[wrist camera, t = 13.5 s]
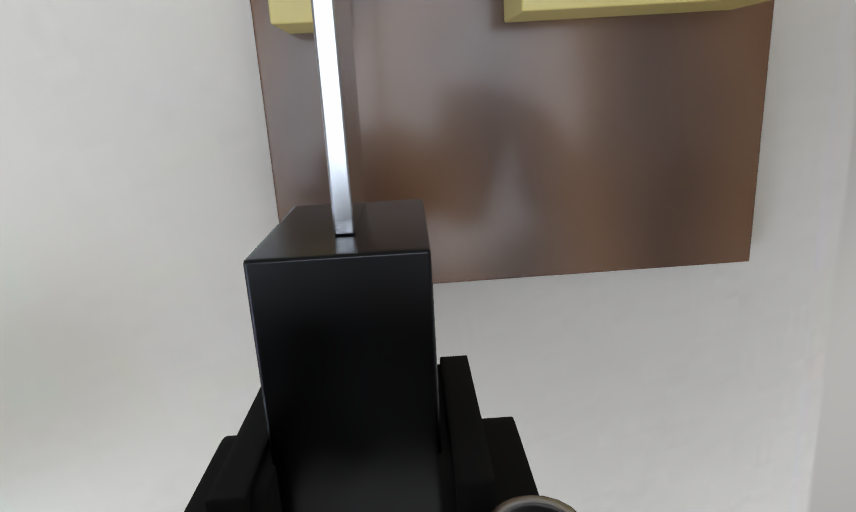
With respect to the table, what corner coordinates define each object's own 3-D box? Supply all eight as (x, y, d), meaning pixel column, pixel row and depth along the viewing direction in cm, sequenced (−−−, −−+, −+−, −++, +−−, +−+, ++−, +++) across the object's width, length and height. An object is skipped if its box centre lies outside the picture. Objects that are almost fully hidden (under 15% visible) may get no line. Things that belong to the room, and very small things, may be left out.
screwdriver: (444, 585, 13) (457, 758, 10) (339, 593, 13) (316, 770, 10) (383, -513, 8) (366, -962, 5) (210, -507, 8) (61, -956, 5)
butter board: (790, -357, 18) (812, -381, 17) (735, 254, 24) (749, 261, 23) (213, -336, 18) (202, -361, 17) (292, 285, 23) (288, 294, 22)
